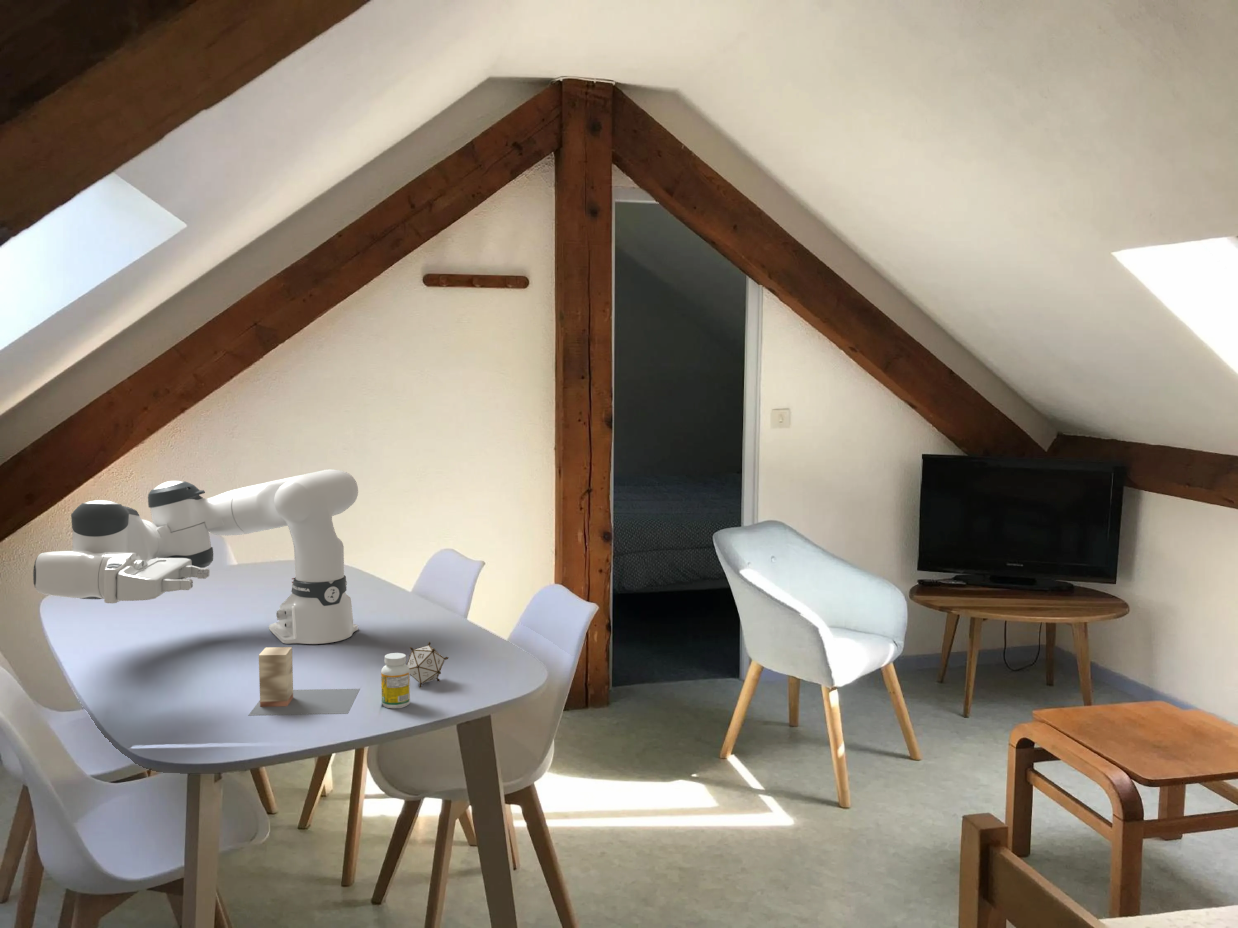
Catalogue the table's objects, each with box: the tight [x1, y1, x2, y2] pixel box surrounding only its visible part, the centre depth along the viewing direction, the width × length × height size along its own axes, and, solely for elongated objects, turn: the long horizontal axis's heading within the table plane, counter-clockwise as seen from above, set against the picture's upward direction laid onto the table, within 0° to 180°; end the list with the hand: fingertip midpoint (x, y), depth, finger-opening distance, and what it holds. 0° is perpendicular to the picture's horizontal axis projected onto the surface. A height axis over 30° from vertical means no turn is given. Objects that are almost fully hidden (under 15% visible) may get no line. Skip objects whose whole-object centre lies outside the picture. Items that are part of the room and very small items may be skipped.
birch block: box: [258, 646, 294, 707], centre depth 199 cm, size 5×5×10 cm
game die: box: [406, 641, 449, 689], centre depth 213 cm, size 9×8×10 cm
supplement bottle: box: [380, 652, 411, 709], centre depth 200 cm, size 5×5×10 cm
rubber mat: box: [248, 688, 361, 717], centre depth 200 cm, size 18×14×1 cm
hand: (200, 578), depth 196 cm, fingers open, 8 cm apart
